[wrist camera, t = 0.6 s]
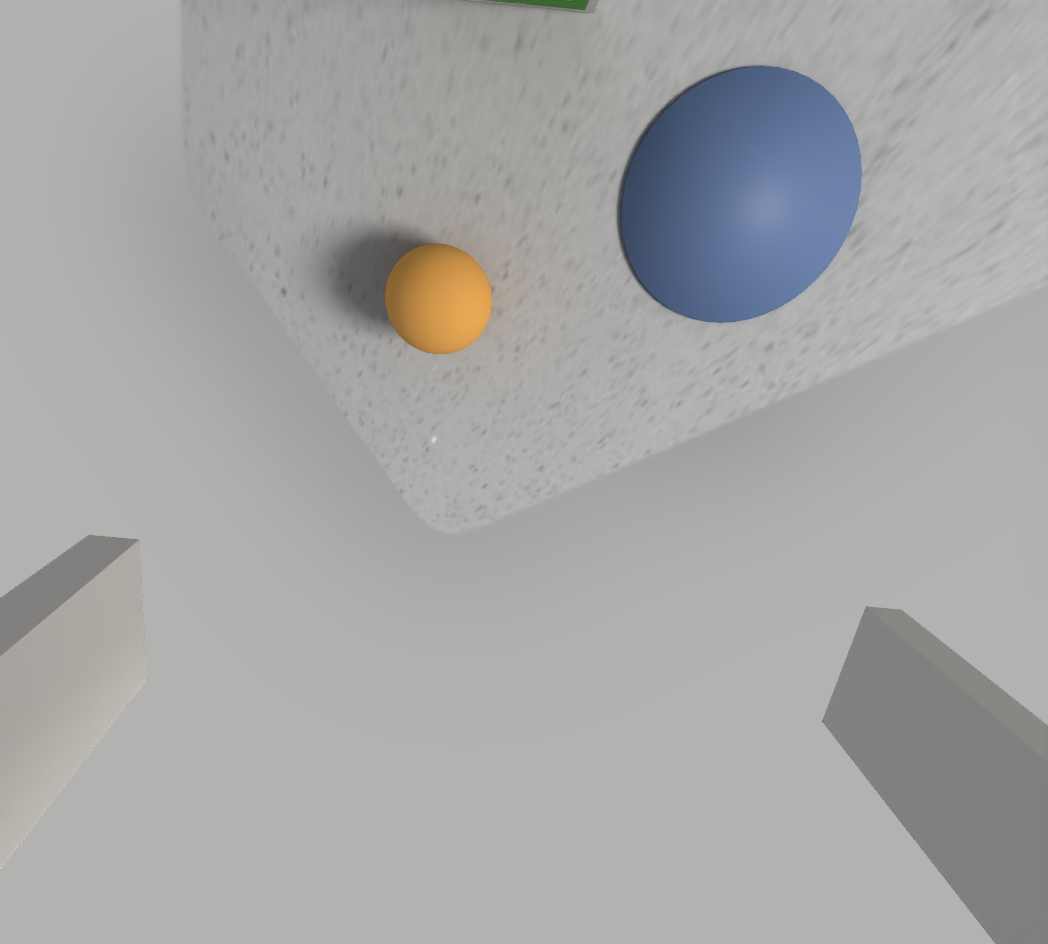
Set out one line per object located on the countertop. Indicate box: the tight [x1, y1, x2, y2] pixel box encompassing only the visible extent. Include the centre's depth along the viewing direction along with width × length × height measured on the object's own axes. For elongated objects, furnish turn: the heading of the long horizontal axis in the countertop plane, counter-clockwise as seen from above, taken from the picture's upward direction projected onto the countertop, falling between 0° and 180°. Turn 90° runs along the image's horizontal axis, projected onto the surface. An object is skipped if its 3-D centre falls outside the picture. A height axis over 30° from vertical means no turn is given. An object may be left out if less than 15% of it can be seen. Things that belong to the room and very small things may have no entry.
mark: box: [621, 66, 862, 323], centre depth 31 cm, size 12×12×1 cm
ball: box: [385, 244, 492, 354], centre depth 31 cm, size 6×6×6 cm
